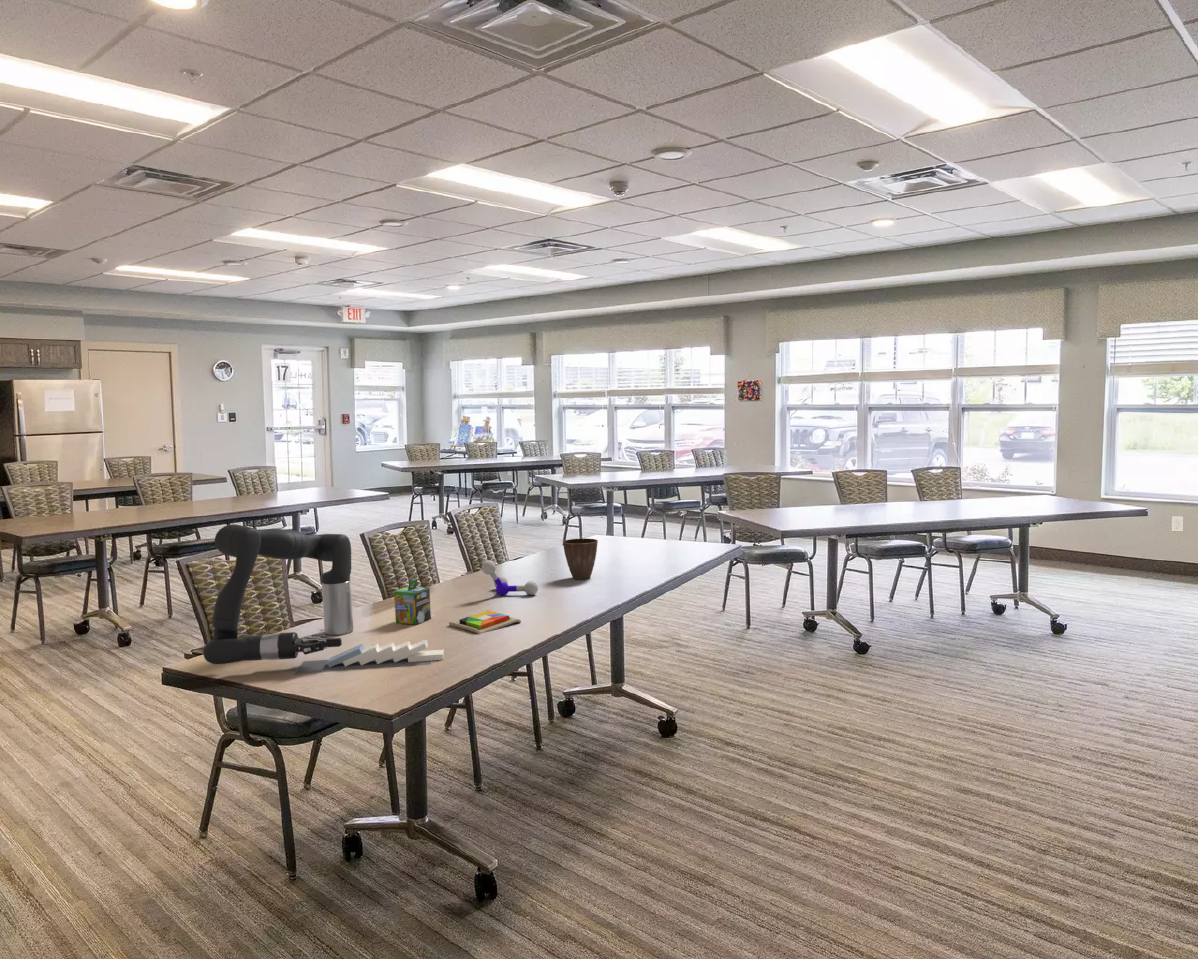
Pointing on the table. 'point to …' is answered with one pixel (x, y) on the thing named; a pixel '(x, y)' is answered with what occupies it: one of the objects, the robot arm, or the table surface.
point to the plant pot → (580, 557)
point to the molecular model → (502, 582)
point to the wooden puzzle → (484, 622)
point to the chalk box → (412, 604)
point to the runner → (353, 665)
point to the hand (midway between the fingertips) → (341, 642)
